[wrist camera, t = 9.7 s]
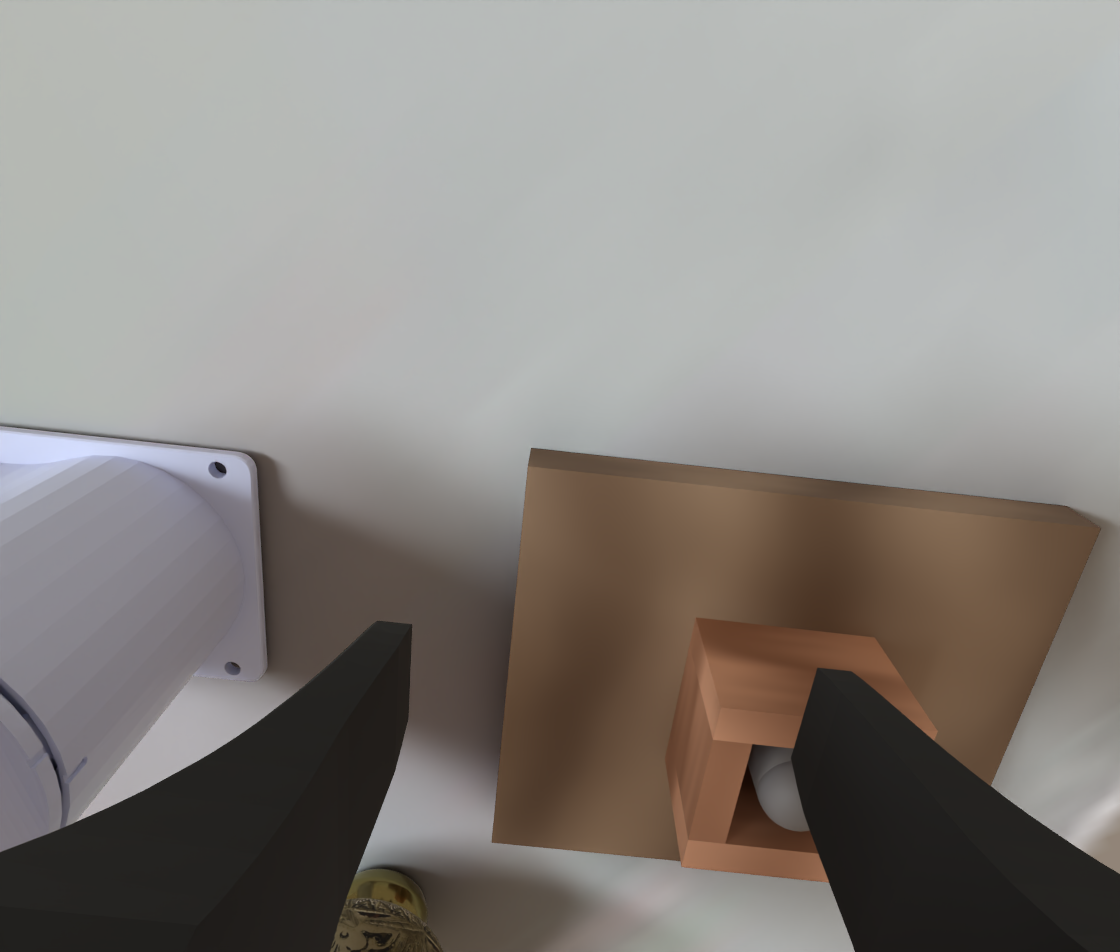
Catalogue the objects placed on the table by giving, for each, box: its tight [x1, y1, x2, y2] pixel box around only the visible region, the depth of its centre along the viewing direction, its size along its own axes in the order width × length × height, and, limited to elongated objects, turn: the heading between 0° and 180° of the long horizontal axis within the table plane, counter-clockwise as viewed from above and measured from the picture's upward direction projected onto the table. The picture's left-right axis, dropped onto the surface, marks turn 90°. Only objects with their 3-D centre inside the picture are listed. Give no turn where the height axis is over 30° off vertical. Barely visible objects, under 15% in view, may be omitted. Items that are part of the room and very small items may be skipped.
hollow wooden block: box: [665, 617, 938, 882], centre depth 20 cm, size 5×5×4 cm
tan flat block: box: [492, 448, 1101, 861], centre depth 21 cm, size 16×14×6 cm
